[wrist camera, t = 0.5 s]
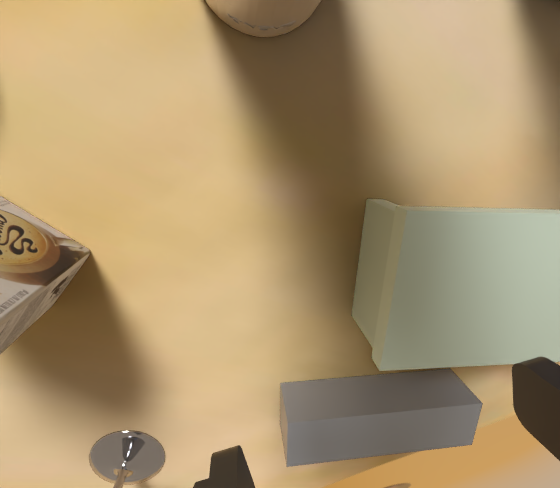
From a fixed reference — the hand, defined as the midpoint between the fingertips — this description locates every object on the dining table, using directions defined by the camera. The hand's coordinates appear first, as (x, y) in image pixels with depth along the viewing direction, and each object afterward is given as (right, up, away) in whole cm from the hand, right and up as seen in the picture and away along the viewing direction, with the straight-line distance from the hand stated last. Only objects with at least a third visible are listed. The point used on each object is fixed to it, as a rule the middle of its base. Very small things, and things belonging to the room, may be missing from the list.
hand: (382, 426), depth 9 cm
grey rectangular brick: (+6, -10, +25) cm, 27 cm away
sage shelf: (+15, +4, +21) cm, 26 cm away
